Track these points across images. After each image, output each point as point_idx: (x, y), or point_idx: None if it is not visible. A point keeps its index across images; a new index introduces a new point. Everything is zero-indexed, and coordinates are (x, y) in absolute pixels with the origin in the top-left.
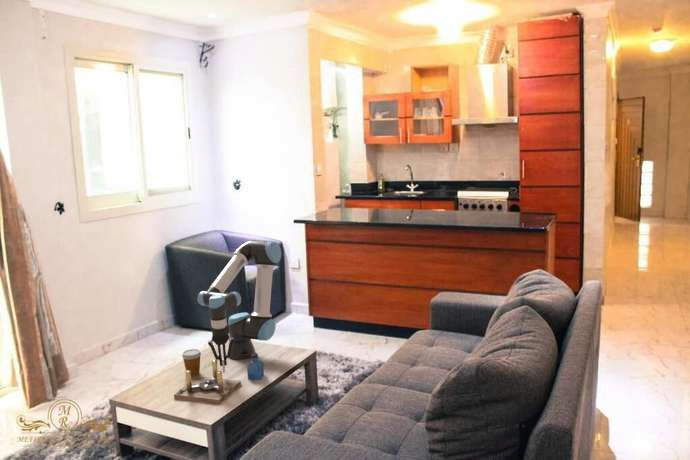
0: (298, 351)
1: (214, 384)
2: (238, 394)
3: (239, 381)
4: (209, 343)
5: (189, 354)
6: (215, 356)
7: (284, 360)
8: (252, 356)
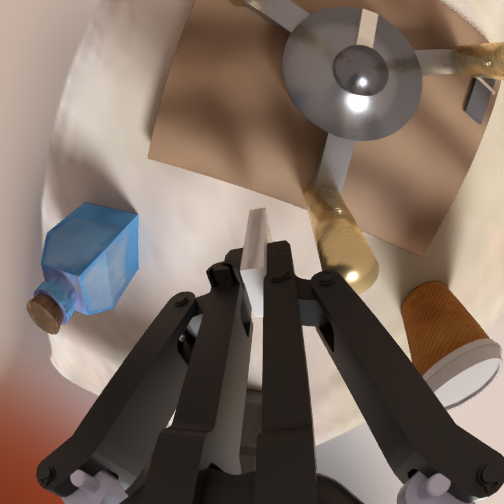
0: (83, 380)
1: (306, 40)
2: (146, 29)
3: (152, 146)
4: (486, 480)
5: (478, 371)
6: (346, 297)
7: (84, 348)
8: (45, 304)
